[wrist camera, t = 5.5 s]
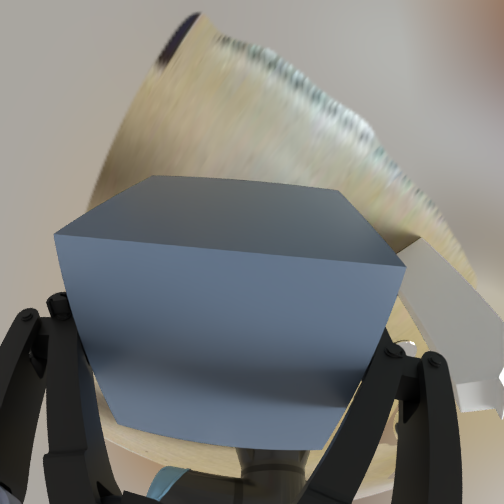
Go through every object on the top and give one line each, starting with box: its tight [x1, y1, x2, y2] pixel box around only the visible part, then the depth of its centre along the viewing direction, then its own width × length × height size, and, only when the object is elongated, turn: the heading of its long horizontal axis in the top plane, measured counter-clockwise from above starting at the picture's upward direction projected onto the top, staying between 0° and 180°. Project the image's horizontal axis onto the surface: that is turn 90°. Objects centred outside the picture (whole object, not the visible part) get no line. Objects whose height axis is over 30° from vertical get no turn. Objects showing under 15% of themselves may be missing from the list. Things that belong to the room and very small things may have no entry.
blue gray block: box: [54, 175, 407, 450], centre depth 13 cm, size 10×10×9 cm
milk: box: [396, 237, 504, 420], centre depth 22 cm, size 6×6×22 cm
